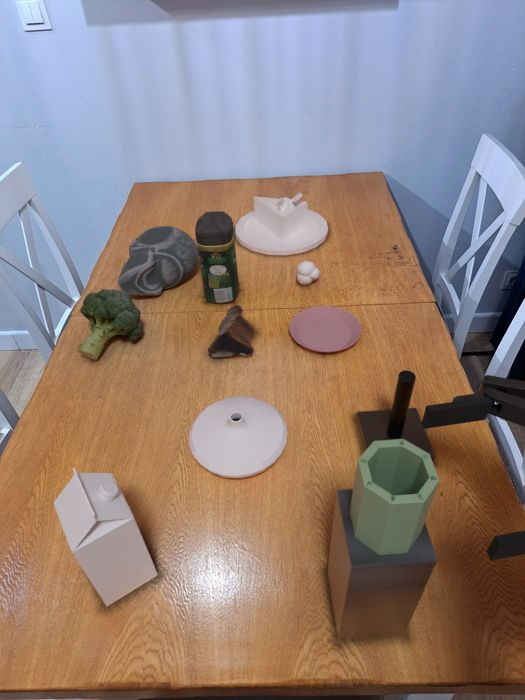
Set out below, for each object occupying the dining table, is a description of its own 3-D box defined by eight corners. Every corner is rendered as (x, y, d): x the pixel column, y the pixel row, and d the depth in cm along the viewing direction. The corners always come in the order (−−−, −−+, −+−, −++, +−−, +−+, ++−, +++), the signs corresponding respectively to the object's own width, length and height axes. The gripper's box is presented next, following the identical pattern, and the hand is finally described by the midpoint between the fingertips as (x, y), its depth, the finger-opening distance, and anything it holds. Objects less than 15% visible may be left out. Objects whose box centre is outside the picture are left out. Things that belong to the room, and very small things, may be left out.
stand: (404, 634, 58) (437, 559, 45) (337, 639, 58) (351, 566, 45) (387, 567, 64) (412, 484, 51) (327, 572, 64) (336, 489, 51)
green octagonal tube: (426, 551, 46) (447, 500, 40) (358, 556, 46) (369, 505, 39) (407, 491, 50) (423, 437, 44) (345, 495, 50) (353, 442, 44)
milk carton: (107, 608, 62) (59, 534, 49) (89, 561, 66) (41, 483, 54) (158, 576, 64) (126, 498, 52) (137, 533, 69) (103, 452, 56)
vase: (296, 416, 84) (296, 388, 79) (275, 496, 72) (274, 468, 68) (209, 401, 87) (204, 373, 82) (176, 476, 76) (168, 448, 71)
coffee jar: (206, 281, 115) (196, 208, 103) (240, 280, 115) (233, 206, 103) (202, 306, 108) (191, 230, 96) (238, 305, 108) (231, 229, 95)
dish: (345, 225, 133) (348, 184, 126) (291, 265, 119) (291, 223, 111) (273, 202, 145) (272, 164, 137) (216, 237, 131) (212, 197, 123)
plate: (275, 336, 99) (274, 329, 98) (319, 305, 107) (319, 297, 105) (330, 369, 92) (331, 361, 90) (374, 332, 99) (375, 325, 98)
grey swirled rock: (114, 305, 111) (152, 258, 125) (179, 311, 107) (210, 262, 121) (98, 262, 103) (140, 217, 118) (167, 267, 99) (202, 220, 113)
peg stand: (433, 462, 76) (454, 399, 66) (369, 467, 76) (380, 404, 66) (414, 413, 83) (431, 350, 73) (356, 417, 83) (365, 354, 73)
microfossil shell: (295, 277, 115) (295, 257, 111) (318, 276, 115) (319, 256, 111) (297, 288, 112) (297, 268, 108) (320, 287, 112) (321, 266, 108)
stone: (200, 345, 92) (217, 298, 103) (210, 367, 96) (225, 319, 107) (245, 341, 90) (258, 293, 101) (253, 363, 94) (264, 314, 104)
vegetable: (54, 340, 98) (95, 279, 102) (109, 373, 103) (147, 314, 107) (60, 338, 87) (106, 270, 91) (122, 375, 92) (163, 309, 96)
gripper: (768, 594, 39) (516, 643, 37) (574, 375, 57) (399, 400, 55) (839, 550, 34) (552, 604, 32) (601, 326, 52) (410, 352, 50)
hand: (454, 475), depth 44 cm, fingers open, 13 cm apart
